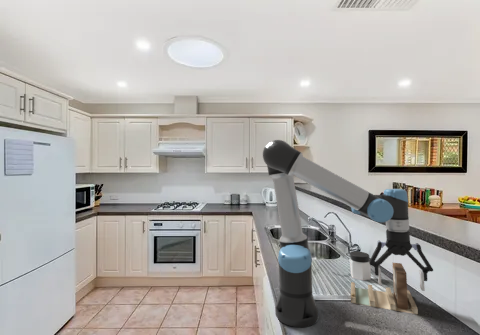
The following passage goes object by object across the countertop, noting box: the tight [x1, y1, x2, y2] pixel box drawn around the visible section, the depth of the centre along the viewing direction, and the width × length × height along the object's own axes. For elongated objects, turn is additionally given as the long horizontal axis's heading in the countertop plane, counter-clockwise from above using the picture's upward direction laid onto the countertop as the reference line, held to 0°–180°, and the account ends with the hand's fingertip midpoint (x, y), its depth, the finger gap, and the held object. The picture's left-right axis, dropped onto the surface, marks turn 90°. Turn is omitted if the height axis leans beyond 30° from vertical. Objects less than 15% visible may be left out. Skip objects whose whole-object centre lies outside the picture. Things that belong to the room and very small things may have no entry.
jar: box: [349, 251, 372, 281], centre depth 117 cm, size 9×8×12 cm
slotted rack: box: [350, 281, 419, 315], centre depth 96 cm, size 21×14×4 cm, turn 66°
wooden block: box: [392, 262, 408, 310], centre depth 93 cm, size 3×10×13 cm, turn 156°
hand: (400, 286), depth 93 cm, fingers open, 13 cm apart
